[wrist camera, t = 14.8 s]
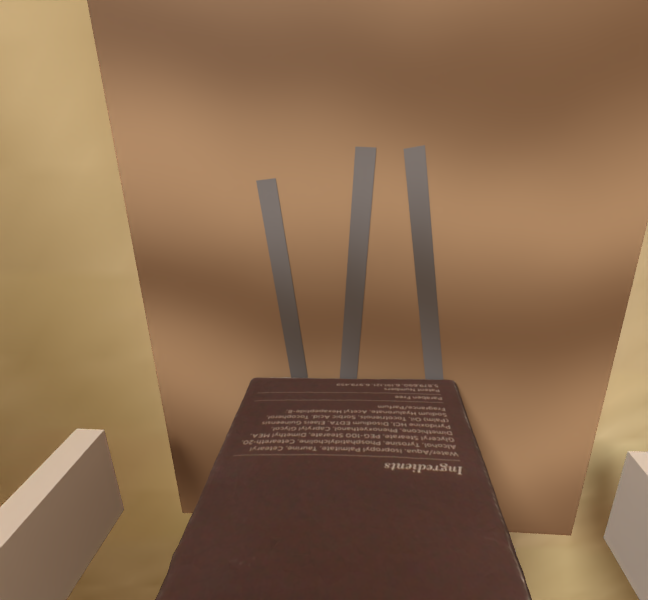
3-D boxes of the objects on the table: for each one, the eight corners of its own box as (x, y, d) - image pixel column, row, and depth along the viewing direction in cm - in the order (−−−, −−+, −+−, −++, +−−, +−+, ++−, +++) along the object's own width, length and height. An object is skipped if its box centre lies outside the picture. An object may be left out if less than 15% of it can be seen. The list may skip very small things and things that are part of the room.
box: (250, 368, 13) (121, 636, 6) (459, 373, 12) (573, 675, 6) (266, 522, 15) (184, 843, 8) (443, 532, 15) (511, 887, 8)
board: (116, -20, 11) (79, -41, 10) (670, -53, 10) (723, -85, 8) (197, 480, 17) (182, 513, 15) (552, 499, 15) (570, 535, 14)
